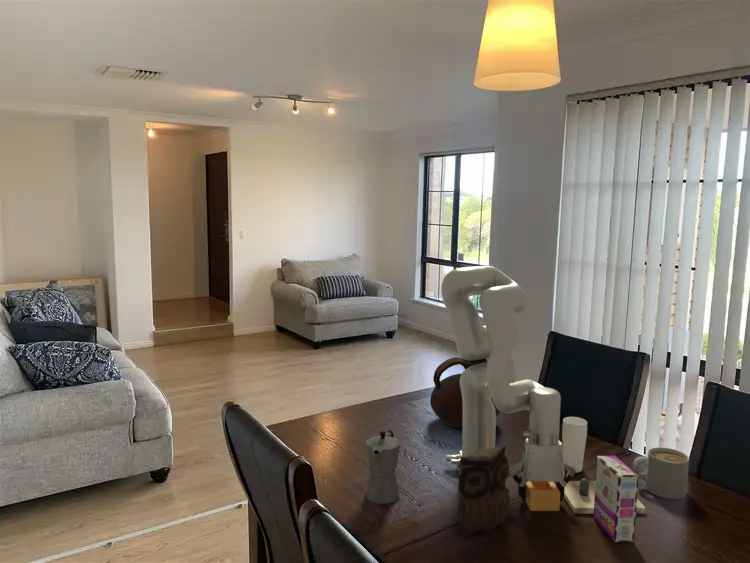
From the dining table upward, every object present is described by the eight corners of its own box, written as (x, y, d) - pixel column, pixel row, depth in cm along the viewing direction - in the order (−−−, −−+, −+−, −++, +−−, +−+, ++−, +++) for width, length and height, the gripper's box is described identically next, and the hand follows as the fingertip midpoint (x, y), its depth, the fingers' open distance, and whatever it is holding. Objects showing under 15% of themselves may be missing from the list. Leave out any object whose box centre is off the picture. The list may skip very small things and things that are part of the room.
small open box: (530, 510, 144) (531, 492, 144) (522, 495, 152) (523, 478, 151) (559, 510, 144) (560, 492, 144) (550, 495, 152) (551, 478, 151)
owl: (510, 519, 141) (512, 442, 138) (502, 547, 129) (504, 464, 126) (460, 509, 145) (461, 434, 142) (447, 535, 134) (449, 455, 131)
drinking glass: (586, 475, 163) (589, 426, 161) (562, 473, 164) (564, 424, 162) (582, 465, 169) (585, 417, 167) (559, 463, 171) (561, 415, 169)
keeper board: (574, 513, 143) (575, 492, 142) (556, 486, 157) (557, 466, 156) (645, 513, 143) (646, 492, 142) (621, 486, 157) (622, 466, 156)
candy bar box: (635, 542, 131) (640, 475, 129) (614, 543, 130) (619, 476, 128) (611, 516, 142) (615, 454, 140) (592, 517, 141) (595, 454, 139)
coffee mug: (687, 486, 156) (690, 452, 155) (684, 502, 148) (687, 466, 147) (635, 474, 164) (637, 441, 162) (629, 489, 155) (632, 454, 154)
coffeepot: (392, 511, 144) (393, 444, 142) (358, 505, 147) (357, 439, 145) (407, 482, 159) (408, 421, 156) (375, 478, 162) (375, 417, 159)
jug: (431, 408, 216) (432, 344, 213) (498, 411, 213) (500, 347, 210) (428, 434, 192) (429, 363, 188) (504, 438, 188) (506, 366, 185)
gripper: (513, 442, 142) (511, 506, 144) (582, 442, 142) (579, 506, 144) (506, 430, 149) (504, 491, 151) (572, 430, 149) (569, 491, 152)
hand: (540, 498), depth 148 cm, fingers open, 9 cm apart
